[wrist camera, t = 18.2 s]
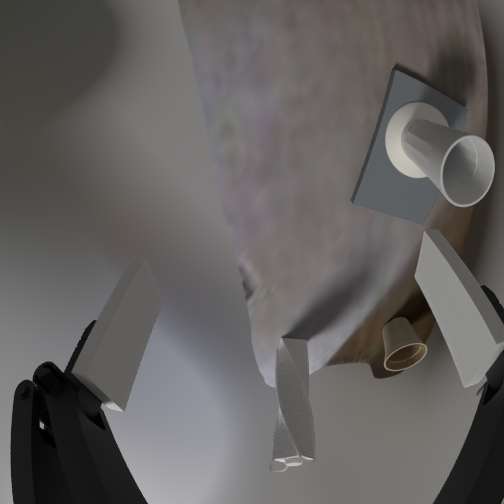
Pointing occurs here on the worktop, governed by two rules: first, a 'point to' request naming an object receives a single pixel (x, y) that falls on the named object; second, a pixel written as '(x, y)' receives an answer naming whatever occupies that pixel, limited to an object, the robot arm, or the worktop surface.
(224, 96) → the worktop surface
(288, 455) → the skyscraper
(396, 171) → the board
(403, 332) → the flower pot
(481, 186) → the cup
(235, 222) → the worktop surface
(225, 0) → the worktop surface
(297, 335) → the worktop surface
